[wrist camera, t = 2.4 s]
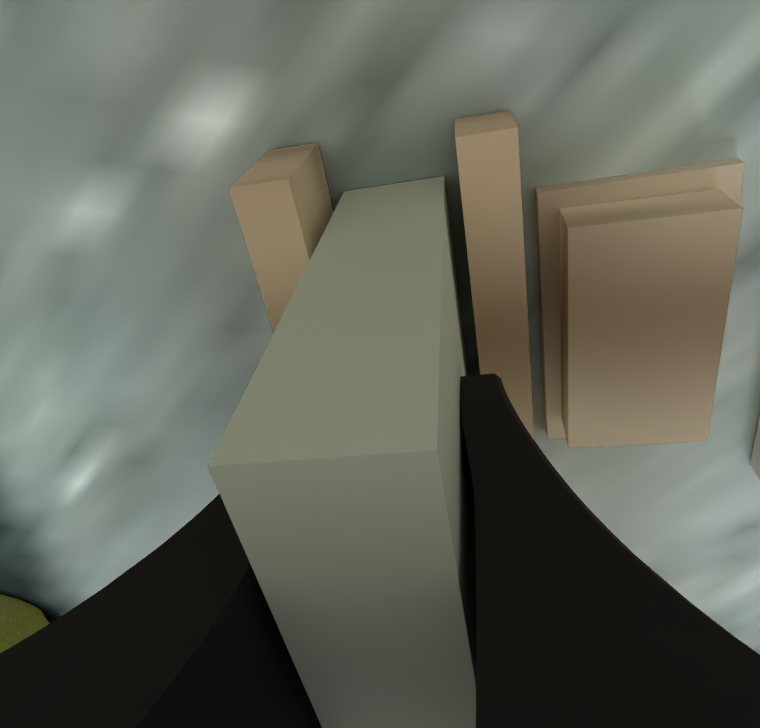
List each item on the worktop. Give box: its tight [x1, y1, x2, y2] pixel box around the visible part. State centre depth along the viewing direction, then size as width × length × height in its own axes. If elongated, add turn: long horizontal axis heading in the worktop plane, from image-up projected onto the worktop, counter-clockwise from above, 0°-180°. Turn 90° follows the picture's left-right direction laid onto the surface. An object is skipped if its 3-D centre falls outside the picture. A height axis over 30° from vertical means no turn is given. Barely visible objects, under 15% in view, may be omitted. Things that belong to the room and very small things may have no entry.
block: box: [208, 176, 476, 728], centre depth 10 cm, size 7×2×8 cm, turn 10°
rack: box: [229, 110, 534, 439], centre depth 12 cm, size 9×5×2 cm, turn 10°
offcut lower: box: [535, 159, 745, 440], centre depth 13 cm, size 6×4×1 cm, turn 10°
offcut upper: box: [559, 189, 743, 448], centre depth 12 cm, size 5×3×1 cm, turn 10°
